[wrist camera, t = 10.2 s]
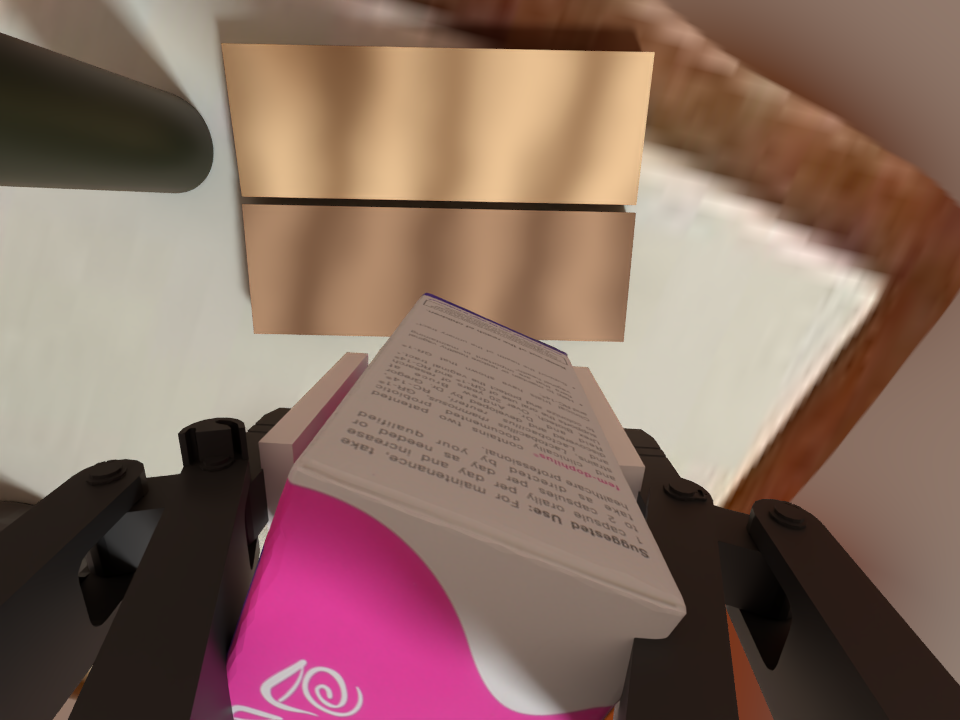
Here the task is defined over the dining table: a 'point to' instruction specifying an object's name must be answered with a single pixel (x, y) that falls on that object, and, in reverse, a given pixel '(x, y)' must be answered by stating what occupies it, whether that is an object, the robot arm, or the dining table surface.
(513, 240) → the board
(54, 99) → the wine bottle
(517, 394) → the supplement box
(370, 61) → the laid plank
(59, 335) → the dining table surface
